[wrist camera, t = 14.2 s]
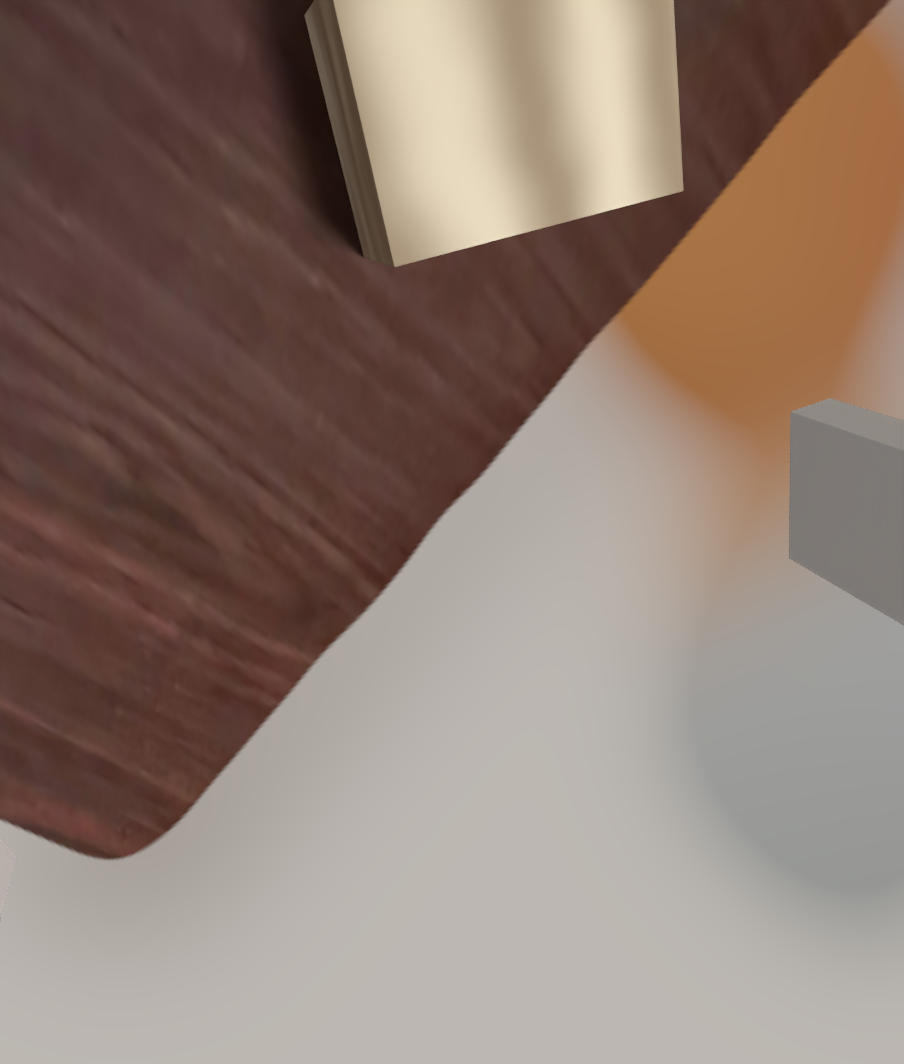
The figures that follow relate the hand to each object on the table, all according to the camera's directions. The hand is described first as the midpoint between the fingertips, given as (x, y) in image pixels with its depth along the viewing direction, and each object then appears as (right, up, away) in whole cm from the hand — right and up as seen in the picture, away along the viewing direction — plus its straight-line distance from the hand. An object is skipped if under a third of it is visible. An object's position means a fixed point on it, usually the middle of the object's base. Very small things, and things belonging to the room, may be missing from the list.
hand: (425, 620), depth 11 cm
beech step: (+2, +21, +24) cm, 32 cm away
